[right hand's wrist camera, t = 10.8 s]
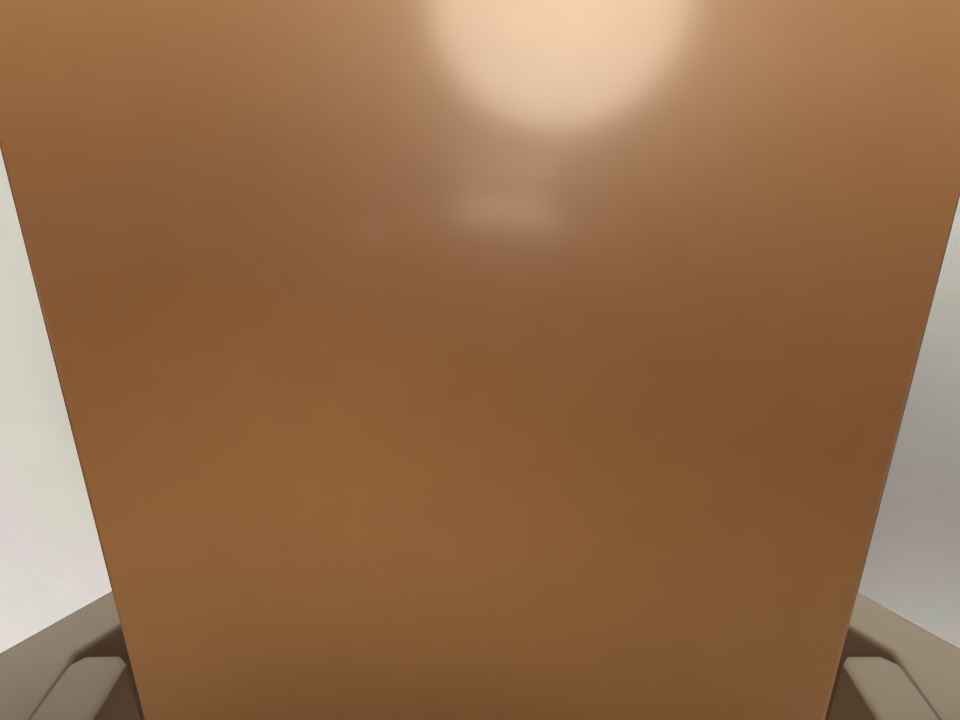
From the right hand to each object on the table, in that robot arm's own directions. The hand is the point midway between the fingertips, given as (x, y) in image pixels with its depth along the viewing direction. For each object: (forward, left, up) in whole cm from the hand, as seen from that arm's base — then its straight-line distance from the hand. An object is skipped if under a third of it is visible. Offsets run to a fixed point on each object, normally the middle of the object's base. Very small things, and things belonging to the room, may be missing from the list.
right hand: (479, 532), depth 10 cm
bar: (+9, -1, -3) cm, 10 cm away
